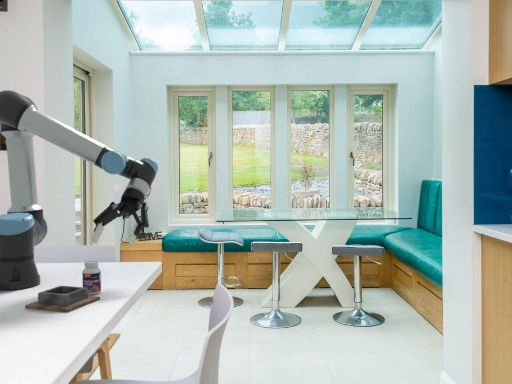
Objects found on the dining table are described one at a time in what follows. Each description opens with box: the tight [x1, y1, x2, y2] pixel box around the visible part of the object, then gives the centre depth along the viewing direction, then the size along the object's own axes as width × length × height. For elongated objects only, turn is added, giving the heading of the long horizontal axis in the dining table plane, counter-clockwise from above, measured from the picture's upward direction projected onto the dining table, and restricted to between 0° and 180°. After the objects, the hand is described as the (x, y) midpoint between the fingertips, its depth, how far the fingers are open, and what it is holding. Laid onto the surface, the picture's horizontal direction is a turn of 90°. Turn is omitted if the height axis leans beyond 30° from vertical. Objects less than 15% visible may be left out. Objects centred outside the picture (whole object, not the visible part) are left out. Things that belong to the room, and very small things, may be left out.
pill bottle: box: [82, 260, 102, 296], centre depth 153 cm, size 5×5×10 cm
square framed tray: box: [25, 285, 101, 313], centre depth 141 cm, size 14×14×4 cm
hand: (111, 241), depth 163 cm, fingers open, 13 cm apart
